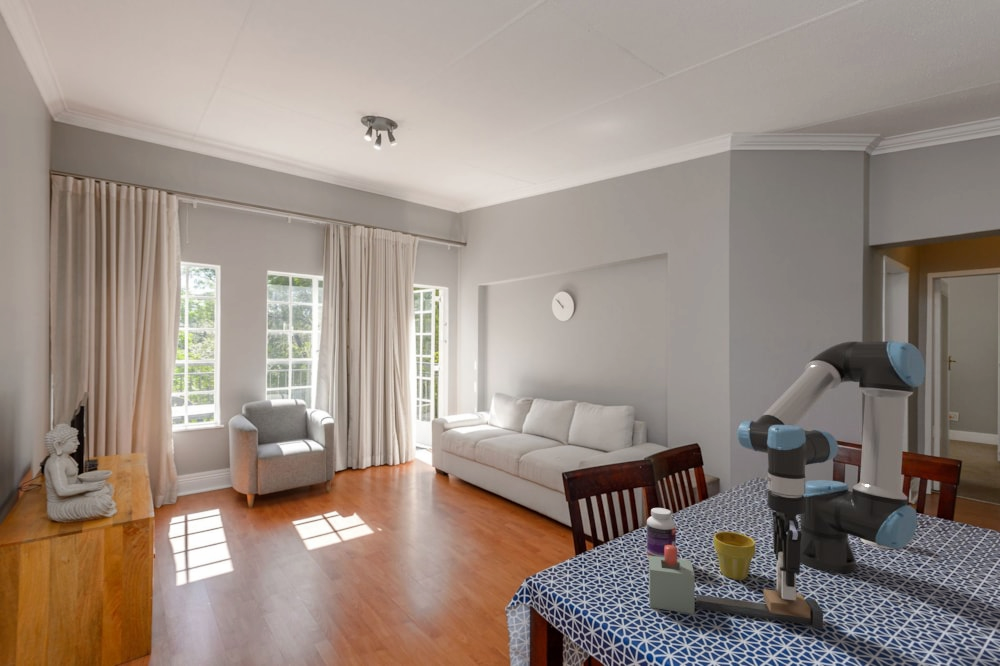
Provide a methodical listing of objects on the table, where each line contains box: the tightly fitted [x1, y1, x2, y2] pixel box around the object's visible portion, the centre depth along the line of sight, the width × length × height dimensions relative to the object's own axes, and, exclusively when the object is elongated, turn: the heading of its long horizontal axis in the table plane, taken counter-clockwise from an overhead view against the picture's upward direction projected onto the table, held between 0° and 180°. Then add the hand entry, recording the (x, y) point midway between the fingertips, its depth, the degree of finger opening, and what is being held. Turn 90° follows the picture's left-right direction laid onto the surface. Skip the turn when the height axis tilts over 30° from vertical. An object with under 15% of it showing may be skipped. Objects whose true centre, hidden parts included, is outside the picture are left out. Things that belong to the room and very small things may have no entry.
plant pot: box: [713, 530, 756, 581], centre depth 133 cm, size 10×10×10 cm
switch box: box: [648, 556, 696, 615], centre depth 119 cm, size 10×8×9 cm
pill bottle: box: [646, 507, 677, 560], centre depth 141 cm, size 8×8×14 cm
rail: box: [695, 593, 824, 630], centre depth 114 cm, size 26×5×4 cm, turn 75°
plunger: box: [664, 545, 678, 567], centre depth 119 cm, size 3×3×4 cm
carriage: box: [763, 552, 810, 618], centre depth 112 cm, size 8×6×12 cm
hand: (786, 594), depth 112 cm, fingers closed on carriage, 3 cm apart
